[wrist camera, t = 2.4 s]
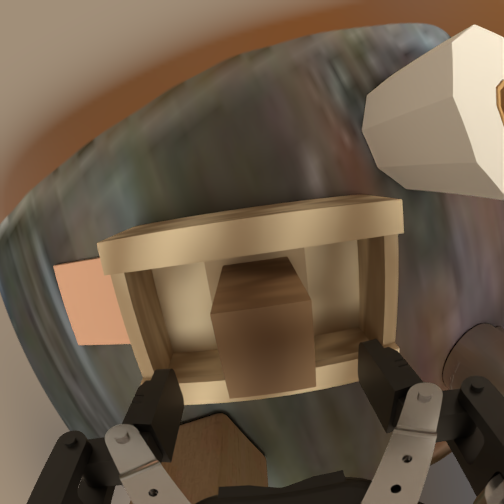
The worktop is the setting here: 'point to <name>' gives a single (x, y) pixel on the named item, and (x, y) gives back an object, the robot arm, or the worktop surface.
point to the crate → (254, 249)
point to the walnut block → (264, 328)
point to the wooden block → (214, 458)
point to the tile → (91, 303)
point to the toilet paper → (443, 118)
